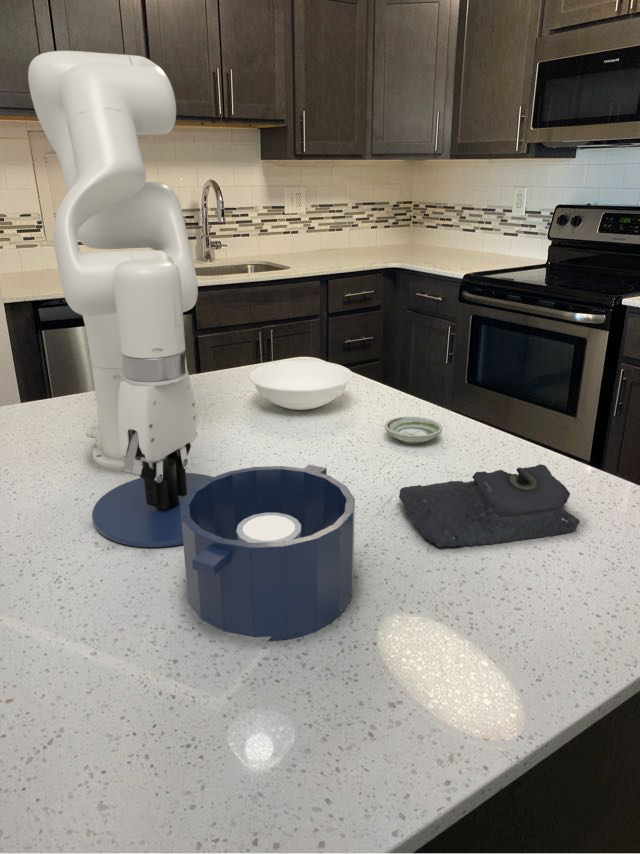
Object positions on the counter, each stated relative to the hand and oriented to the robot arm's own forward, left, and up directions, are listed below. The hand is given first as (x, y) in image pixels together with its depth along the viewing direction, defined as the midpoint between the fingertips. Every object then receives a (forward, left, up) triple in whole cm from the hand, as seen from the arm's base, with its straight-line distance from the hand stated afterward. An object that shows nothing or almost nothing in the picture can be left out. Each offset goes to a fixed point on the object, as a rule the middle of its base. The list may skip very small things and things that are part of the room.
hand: (167, 498), depth 87 cm
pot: (+20, -8, -2) cm, 22 cm away
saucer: (+20, +40, -3) cm, 45 cm away
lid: (0, 0, -1) cm, 1 cm away
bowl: (-5, +47, -3) cm, 47 cm away
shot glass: (+20, -8, -2) cm, 22 cm away
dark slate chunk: (+37, +19, -3) cm, 42 cm away
